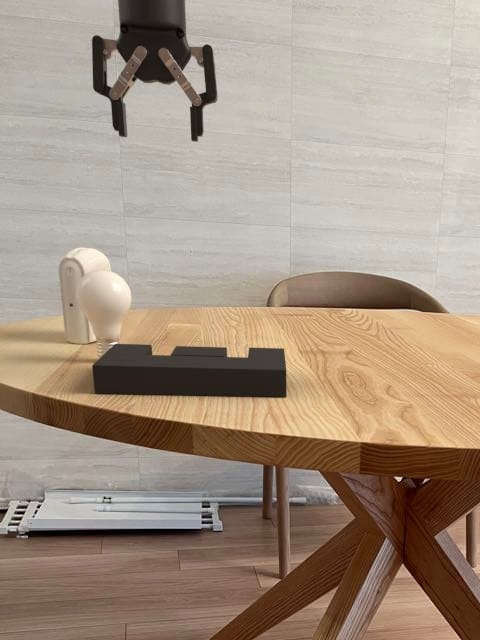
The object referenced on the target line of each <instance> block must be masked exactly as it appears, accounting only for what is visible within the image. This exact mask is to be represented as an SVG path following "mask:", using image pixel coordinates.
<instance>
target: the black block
mask: <svg viewBox="0 0 480 640" xmlns="http://www.w3.org/2000/svg"><path fill="white" fill-rule="evenodd" d="M170 355H171V356H209V357H228V347H226V346H225V347H222V346H221V347H220V346H189V345H188V346H186V345H176V346H175V347H174V349H173V350H172V352H171V353H170Z"/></svg>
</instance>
